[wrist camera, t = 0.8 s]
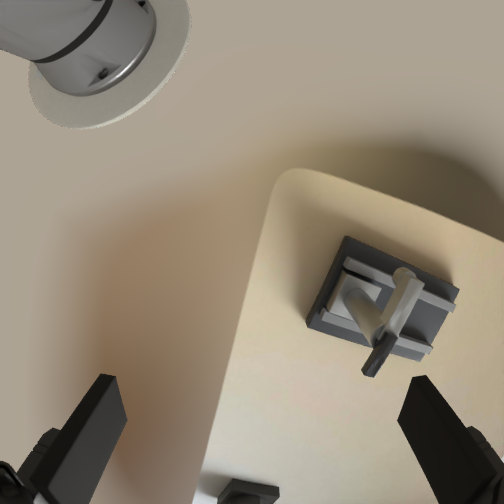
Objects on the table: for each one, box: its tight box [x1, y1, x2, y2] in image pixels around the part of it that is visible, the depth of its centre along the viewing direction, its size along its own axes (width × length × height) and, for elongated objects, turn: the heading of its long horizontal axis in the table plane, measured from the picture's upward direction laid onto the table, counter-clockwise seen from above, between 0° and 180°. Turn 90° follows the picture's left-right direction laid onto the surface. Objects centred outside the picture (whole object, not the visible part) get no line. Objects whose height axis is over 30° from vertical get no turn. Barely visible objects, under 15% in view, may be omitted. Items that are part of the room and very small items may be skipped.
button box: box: [217, 479, 280, 504], centre depth 38 cm, size 8×8×4 cm
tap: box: [325, 267, 425, 378], centre depth 25 cm, size 8×4×10 cm, turn 159°
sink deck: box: [305, 235, 460, 362], centre depth 30 cm, size 10×16×3 cm, turn 69°
